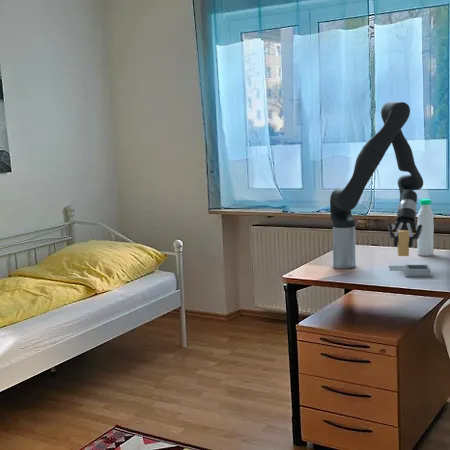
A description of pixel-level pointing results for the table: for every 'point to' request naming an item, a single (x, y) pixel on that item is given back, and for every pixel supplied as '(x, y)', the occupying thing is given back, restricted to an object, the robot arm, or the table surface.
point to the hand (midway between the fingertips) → (402, 245)
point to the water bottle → (425, 229)
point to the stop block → (403, 243)
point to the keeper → (417, 271)
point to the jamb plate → (397, 268)
